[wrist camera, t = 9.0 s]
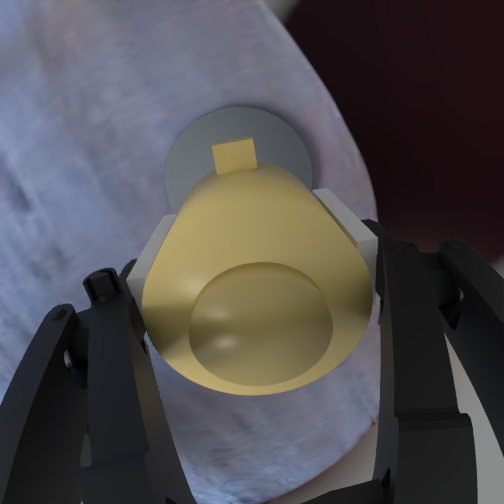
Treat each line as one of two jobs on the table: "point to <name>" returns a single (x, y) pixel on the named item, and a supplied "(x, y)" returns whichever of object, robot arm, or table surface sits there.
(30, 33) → the table surface
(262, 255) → the cap
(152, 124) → the table surface
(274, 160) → the rubber mat
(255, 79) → the table surface
